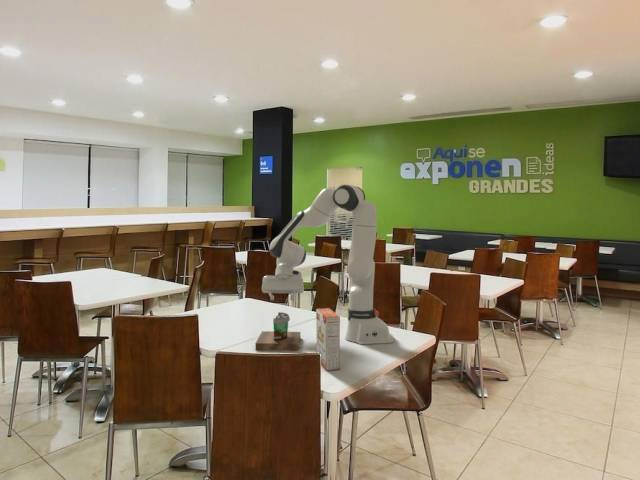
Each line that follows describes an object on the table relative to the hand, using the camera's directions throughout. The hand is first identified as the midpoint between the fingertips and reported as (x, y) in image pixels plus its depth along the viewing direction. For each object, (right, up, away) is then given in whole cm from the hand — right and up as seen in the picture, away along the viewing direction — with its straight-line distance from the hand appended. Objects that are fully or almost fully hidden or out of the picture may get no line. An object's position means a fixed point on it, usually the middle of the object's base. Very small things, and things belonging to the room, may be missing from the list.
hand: (281, 299), depth 218 cm
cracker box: (+21, -21, -36) cm, 47 cm away
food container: (+1, -16, -11) cm, 19 cm away
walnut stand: (0, -18, -11) cm, 21 cm away
